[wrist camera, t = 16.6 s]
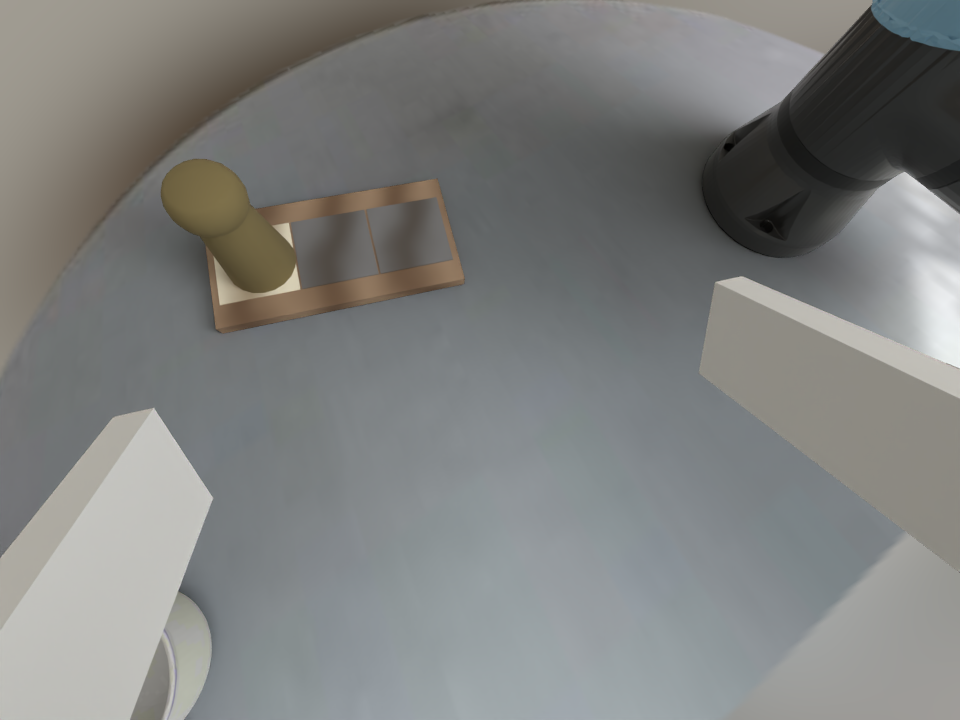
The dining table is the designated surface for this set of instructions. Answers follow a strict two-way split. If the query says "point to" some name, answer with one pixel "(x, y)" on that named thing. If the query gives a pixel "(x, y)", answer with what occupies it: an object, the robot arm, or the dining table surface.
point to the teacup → (176, 665)
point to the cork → (228, 224)
